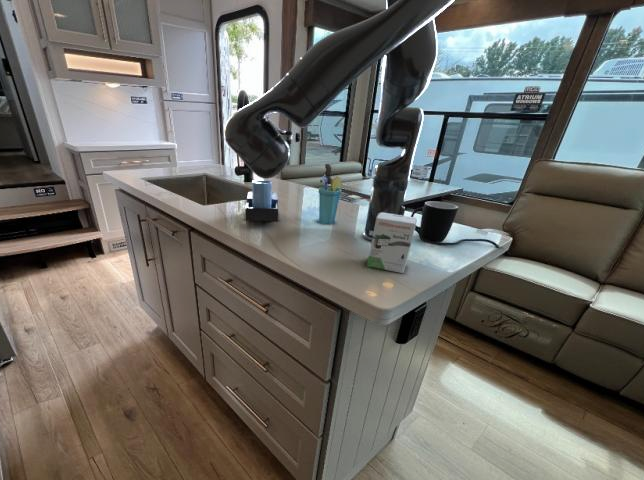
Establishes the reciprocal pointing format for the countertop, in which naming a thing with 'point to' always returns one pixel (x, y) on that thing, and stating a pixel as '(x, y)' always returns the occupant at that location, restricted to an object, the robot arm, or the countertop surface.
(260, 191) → the light blue hollow cylinder
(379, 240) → the ink box
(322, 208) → the cup
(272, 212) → the storage box
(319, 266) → the countertop surface
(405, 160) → the robot arm
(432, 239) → the mug
